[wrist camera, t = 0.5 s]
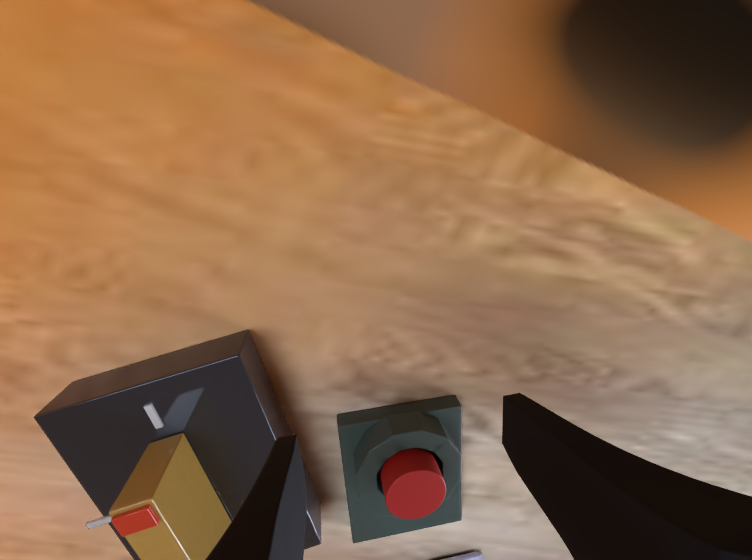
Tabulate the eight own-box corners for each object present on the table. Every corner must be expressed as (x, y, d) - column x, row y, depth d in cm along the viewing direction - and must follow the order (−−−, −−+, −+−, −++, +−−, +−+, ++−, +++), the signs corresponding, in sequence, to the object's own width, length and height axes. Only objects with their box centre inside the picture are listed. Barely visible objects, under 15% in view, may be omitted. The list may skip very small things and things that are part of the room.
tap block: (332, 498, 26) (335, 542, 23) (166, 554, 25) (146, 607, 22) (263, 324, 21) (255, 351, 18) (55, 386, 20) (11, 424, 17)
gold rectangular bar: (237, 531, 21) (220, 616, 17) (207, 541, 21) (182, 629, 17) (183, 431, 19) (148, 504, 15) (148, 442, 19) (103, 518, 15)
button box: (455, 506, 28) (472, 544, 25) (351, 527, 27) (355, 570, 24) (455, 391, 25) (473, 420, 22) (336, 411, 23) (339, 445, 21)
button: (437, 488, 23) (446, 512, 22) (382, 499, 23) (387, 525, 21) (436, 442, 22) (446, 465, 21) (378, 453, 22) (383, 477, 20)
